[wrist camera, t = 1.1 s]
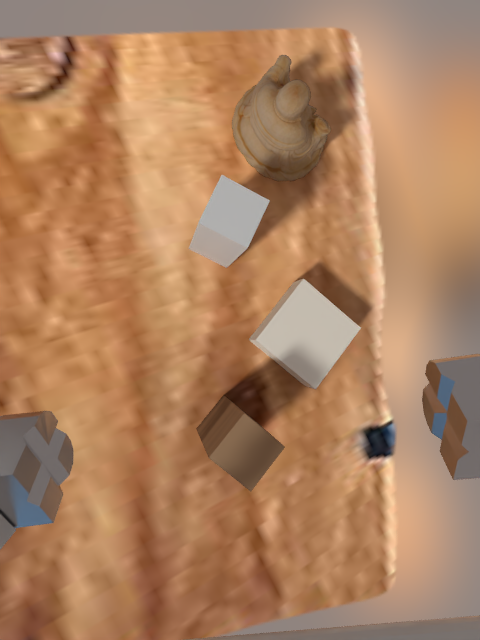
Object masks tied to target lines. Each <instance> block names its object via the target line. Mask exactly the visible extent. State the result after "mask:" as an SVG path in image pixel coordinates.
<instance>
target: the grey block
mask: <svg viewBox="0 0 480 640" xmlns="http://www.w3.org/2000/svg"><path fill="white" fill-rule="evenodd" d="M269 201H270V200H268V199H266V198H264V197H262V196H260V195H258V194H257V193H255V192H253V191H251V190H249V189H247V188H245V187H244V186H242V185H240V184H238V183H236V182H234V181H232V180H230V179H229V178H227V177H225V176H223V175H221V177H220V179H219V181H218V184H217V186H216V188H215V190H214V192H213V194H212V196H211V198H210V200H209V202H208V204H207V206H206V208H205V210H204V212H203V214H202V216H201V219H200V221H199V223H198V225H197V228H196V231H195V233H194V236H193V238H192V241H191V244H190V246H189V249H190V250H192V251H194V252H196V253H198V254H200V255H202V256H204V257H206V258H208V259H210V260H212V261H214V262H216V263H218V264H220V265H222V266H224V267H226V268H227V267H228V266H229V265H230V264H231V263H232V262H233V261H235V260H236V259H237V258H238V257H239V256H240V255H241V254H242V253H243V252H244V251H245V250H246V249H247V248H248V246H249V244H250V242H251V240H252V238H253V236H254V233H255V231H256V229H257V227H258V225H259V223H260V221H261V218H262V216H263V214H264V212H265V210H266V208H267V206H268V204H269Z"/></svg>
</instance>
